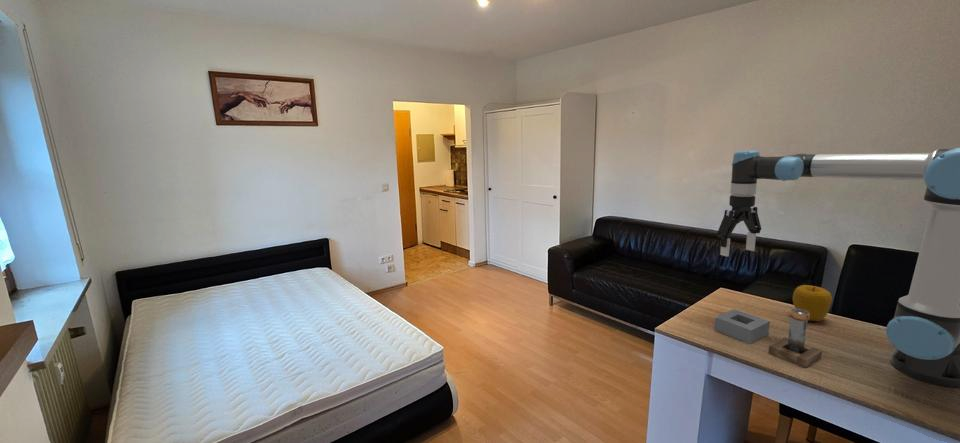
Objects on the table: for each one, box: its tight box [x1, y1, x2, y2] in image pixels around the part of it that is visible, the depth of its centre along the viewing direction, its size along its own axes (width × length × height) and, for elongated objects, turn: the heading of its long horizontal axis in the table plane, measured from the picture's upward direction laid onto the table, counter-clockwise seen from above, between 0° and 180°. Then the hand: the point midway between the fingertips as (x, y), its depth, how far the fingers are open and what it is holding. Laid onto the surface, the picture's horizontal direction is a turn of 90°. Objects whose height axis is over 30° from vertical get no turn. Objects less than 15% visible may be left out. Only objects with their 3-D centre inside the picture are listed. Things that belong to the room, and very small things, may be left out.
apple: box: [792, 284, 833, 322], centre depth 144 cm, size 11×11×13 cm
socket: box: [713, 308, 771, 345], centre depth 137 cm, size 12×12×5 cm
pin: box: [787, 307, 810, 354], centre depth 121 cm, size 5×5×15 cm
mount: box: [767, 337, 823, 369], centre depth 122 cm, size 10×10×2 cm
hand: (737, 252), depth 140 cm, fingers open, 13 cm apart
